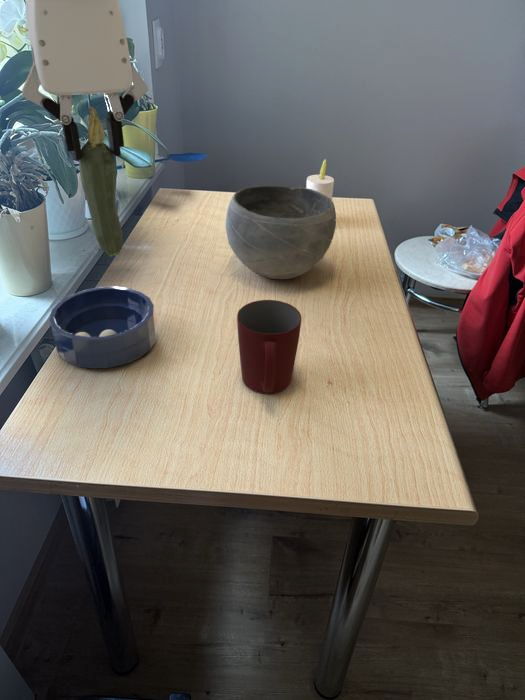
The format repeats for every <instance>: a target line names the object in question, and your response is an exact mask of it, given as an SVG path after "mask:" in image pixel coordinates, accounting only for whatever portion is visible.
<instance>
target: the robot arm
mask: <svg viewBox="0 0 525 700" xmlns="http://www.w3.org/2000/svg"><path fill="white" fill-rule="evenodd" d="M25 16H26V23H27V24H26V25H27V31H28V38H29V44H30V53H31V58H32V66H31V67H30V70H29V73H28V74H27V76H26V79H25V82H24V84H23V87H22V89H21V94H22V96H23V98H25V99H26V100H28V101H29V102H31V103H33V104H35V105H37V106H39V107H40V108H43V109H44V110H46V111H47V112H48V113H49V114H51V115H52V116H53V117H54V118H55V119H57V120H59V122H61V128H62V133H63V138H64V139H63V140H64V145H65V149H66V152H69V153H70V152H71V153H72V156H73V157H74V159H75V161H79V160H81V158H82V152H81V149H82V145H81V141H80V135H79V129H78V125H77V124H76V122H75V120H74V117H73V116H72V114H73V113H72V112H73V110H72V109H73V108H72V107H73V106H72V104H73V103H72V101H73V99H72V98H73V96H79V95H80V96H81V95H98V94H99V95H100V94H102V95H103V97H104V100H105V103H106V107H107V116H106V118H105V125H106V133H107V139H108V147H109V148H110V150H111V151H112V153H113V156H115V157H121V156H122V152H121V148H124V147H125V140H124V130H123V123H122V121H123V120H124V119H125V115H126V114H127V113H128V112H129V110H130V109H131V108H132V106H133V105H134V103H135V102H136V101H138V100H139V99H140V98H142V97H143V96H144V95H146V94H147V93H148V91H149V88H148V85H147V84H146V82H145V81H144V79H143V78H142V77H141V74H139V72H138V71H137V70H136V68H135V67H134V65H133V64H132V62H131V55H130V49H129V43H128V38H127V33H126V28H125V23H124V17H123V12H122V9H121V5H120V2H119V0H25ZM40 86H41V87H42V90H43V91H44V92H46V93H48V94H49V95H53V96H56V101H54V100H53V99H52V98H51V97H49V96H47V95H45V94H44V93H42V92H41V91H40V90H39V89H40ZM119 93H122V94H120V96H119Z"/></svg>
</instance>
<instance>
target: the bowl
mask: <svg viewBox="0 0 525 700" xmlns="http://www.w3.org/2000/svg"><path fill="white" fill-rule="evenodd" d="M336 220H337V212H336V206H335V204H334V201H333V199H332V200H331V199H330V198H328V197H327V196H325V195H323V194H321V193H320V192H318V191H315V190H312V189H308V188H306V187H303V186H293V185H282V184H280V185H278V184H262V185H254V186H248V187H244V188H243V187H242V188H241V189H239V190H237V191H236V192H234V194H233V195H232V196H231V199H230V202H229V204H228V206H227V211H226V216H225V233H226V237H227V242H228V244H229V246H230V247H229V248H230V249H231V250H232V252H233V253H234V255H235V256H236V258H237V260H239V261H240V262H241V263H242V264H243V266H245V267H246V268H247V269H248V270H251V271H252V272H253V273H256V274H258V275H259V276H263V277H265V278H268V279H270V280H271V279H272V280H290V279H295V278H297V277H299V276H302V275H304V274H306V273H307V272H309V271H311V270H312V269H313V268H314V267H315V266H316V265H318V263H320V261H321V260H322V259H323V258H324V257H325V255H326V253H327V252H328V251H329V248H330V246H331V245H332V242H333V239H334V236H335V231H336V226H337V221H336Z"/></svg>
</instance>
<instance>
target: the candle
mask: <svg viewBox="0 0 525 700" xmlns="http://www.w3.org/2000/svg"><path fill="white" fill-rule="evenodd" d="M326 173H327V159H326V158H324V160H323V161H322V164H321V167H320V170H319V174H312V175H309V176H307V177H306V187H305V188H308V189H312V190H315V191H318V192H320V193H321V194H323V195H325V196H327V197H328V198H330V199H331V200H332V201H333V196H334V195H333V194H334V187H335V186H334V185H335V179H334V178H333V177H332V176H330V175H326Z"/></svg>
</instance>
